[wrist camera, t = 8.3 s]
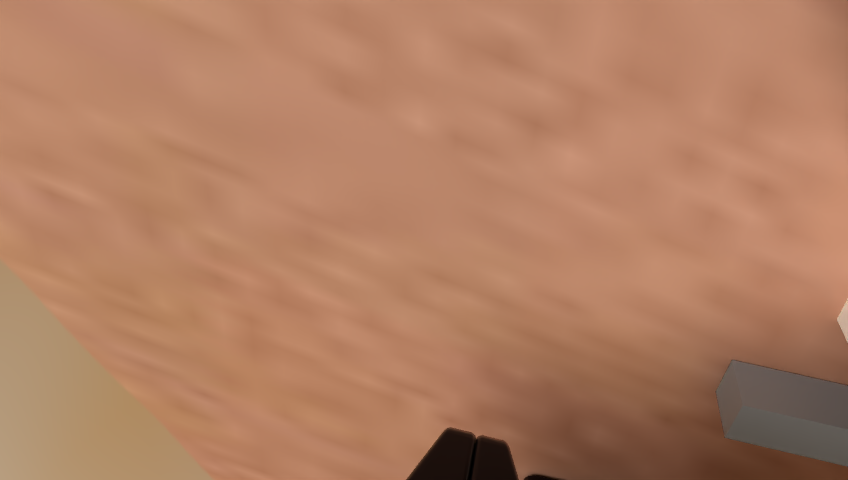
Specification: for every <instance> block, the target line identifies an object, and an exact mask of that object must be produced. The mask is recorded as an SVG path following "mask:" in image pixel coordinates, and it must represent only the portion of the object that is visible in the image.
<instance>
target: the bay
mask: <svg viewBox="0 0 848 480" xmlns="http://www.w3.org/2000/svg"><path fill="white" fill-rule="evenodd" d="M716 396H717V401H718V406H719V411H720V416H721V421H722V426H723V431H724V436H725V438H728V439H732V440H737V441H741V442H745V443H749V444H754V445H758V446H762V447H766V448H771V449H775V450H779V451H783V452H788V453H792V454H796V455H800V456H805V457H809V458H813V459H817V460H822V461H826V462H830V463H834V464H839V465H843V466H847V467H848V385H843V384H839V383H834V382H830V381H825V380H821V379H816V378H812V377H807V376H803V375H798V374H794V373H789V372H785V371H780V370H776V369H771V368H767V367H762V366H758V365H753V364H749V363H744V362H740V361H735V360H732V361H731V363H730V365H729V367H728V369H727V371H726V372H725V374H724V376H723V378H722V380H721V382H720V384H719V386H718V388H717V390H716Z"/></svg>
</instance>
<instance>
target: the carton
mask: <svg viewBox="0 0 848 480" xmlns="http://www.w3.org/2000/svg"><path fill="white" fill-rule="evenodd" d="M837 321H838V323H839V325H840V327H841V329H842V332H843V334H844V336H845V338H846V340H847V343H848V299H847V301H846V303H845V305H844V307H843V309H842V311H841V312H840V314H839V316H838V318H837Z"/></svg>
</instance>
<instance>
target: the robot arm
mask: <svg viewBox="0 0 848 480" xmlns="http://www.w3.org/2000/svg"><path fill="white" fill-rule="evenodd" d="M406 480H519V479H518V475H517V472H516V468H515V465H514V462H513V458H512V455H511V451H510V448H509V446H508V444H507V443H506V442H505V441H503V440H499V439H495V438H491V437H487V436H483V435H482V436H478V437H477V439H476V437H475V435H474V434H473V433H471V432H467V431H463V430H459V429H455V428H447V429H446V430H444V431H443V433H442V434H441V435H440V437H439V438H438V439H437V440H436V442H435V443H434V444H433V446H432V447H431V448H430V450H429V451H428V452H427V453H426V455H425V456H424V457H423V459H422V460H421V461H420V463H419V464H418V465H417V466H416V468H415V469H414V470H413V472H412V473H411V474H410V476H409V477H408V478H407V479H406ZM524 480H552V479H548V478H544V477H540V476H535V475H532V476H527V477H526V478H524Z"/></svg>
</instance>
